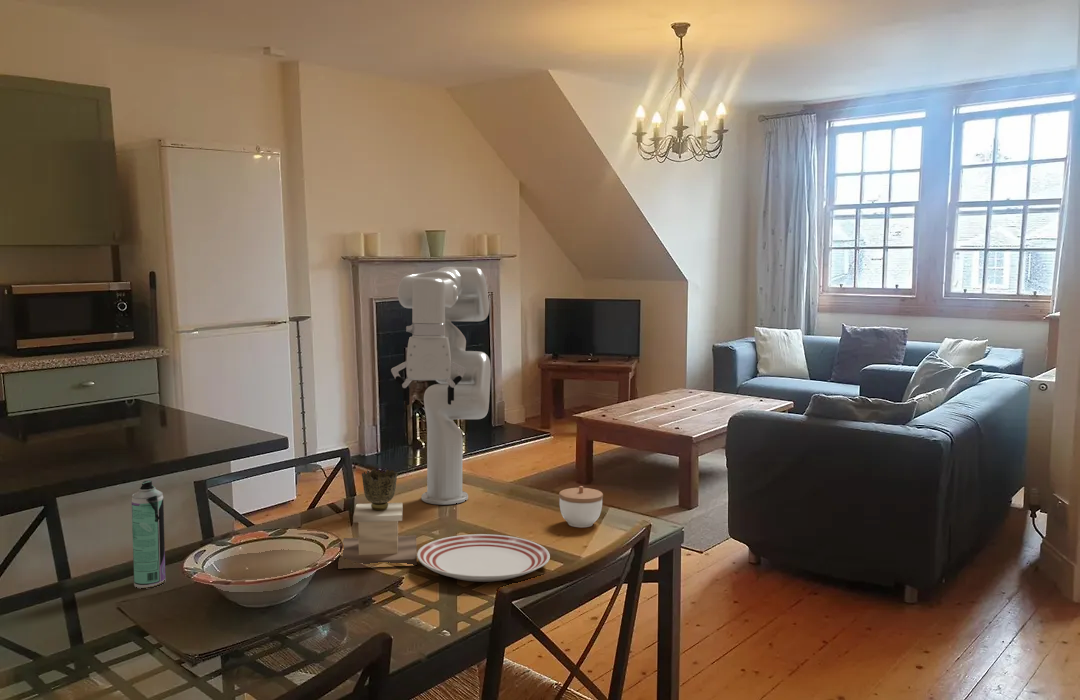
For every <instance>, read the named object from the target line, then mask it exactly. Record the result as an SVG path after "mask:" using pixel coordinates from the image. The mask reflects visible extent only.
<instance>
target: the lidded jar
mask: <svg viewBox="0 0 1080 700" xmlns="http://www.w3.org/2000/svg"><path fill="white" fill-rule="evenodd" d="M558 496H559V497H558V498H559V509H560V513H561V516H562V518H563V519H564V520H565V521H566V522H567V525H568V526H570V527H573V528H583V529H584V528H590V527H592V526H593V524H595V522H596V521H598V519H599V517H600V515H601V514H602V510H603V509H602V508H603V497H604V493H603V492H602V491H600V490H599V489H594V488H589V487H584V485H583V486H582V485H580V486H579V485H578V487H571V488H565V489H562V490H560V491H559V493H558Z"/></svg>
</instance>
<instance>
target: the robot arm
mask: <svg viewBox="0 0 1080 700" xmlns="http://www.w3.org/2000/svg"><path fill="white" fill-rule="evenodd" d="M487 283H488V282H487V279H486V275H485V274H484V272H483V271H482V269H481V268H479V267H476V266H444V267H440V268H438V269H437V270H431V271H426V272H421V273H420V272H419V273H413V274H408V275H405V276H403V277H402V278H401V280H400V281H399V284H398V286H397V299H398V302H399V304H400V305H401V306H402V307H403V308H404V309H405V308H406V309H412V320H411V321H412V324H411V325H407V326H406V327H405V329H406V330H405V331H406V332H407V333H410V334H412V336H410V337H409V339H408V341H407V342H408V343H407V350H406V352H407V353H406V360H405V361H404V362H402V363H399V364H398V365H396V366H394V367H392V368H391V369H390V372H391V374H392V376H393V377H394V379H395V381H396V383H397V384H398V385H400V386H401V387H402V390H403V392H402V393H403V396H402V397H403V400H402V401H403V402H405V403H406V406H409V405H410V384H411V382H413V381H435V382H436V384H435V383H434V384H432V385H430V386H428V387H427V388H426V389H425V391H424V395H423V405H424V410H425V418H426V433H427V434H426V435H427V436H426V440H427V442H426V447H427V448H426V449H427V450H426V451H427V452H426V455H427V458H426V461H427V463H426V465H427V466H426V467H427V469H426V473H427V475H426V476H427V477H426V480H427V481H426V483H427V484H426V485H427V486H426V487H427V489H426V490H427V491H426V492H423V493H422V494H421V501H423V502H424V503H427V504H431V505H438V506H443V505H444V506H447V505H455V504H456V503H457V504H460V503H464V502H466V501H468V499H469V494H468V493H467V492H466V491H463V447H464V445H463V443H464V442H463V440H464V438H463V434H462V433H463V432H462V431H461V429H460V428H459V426H458V425H457V424H456V422H455V421H454V420H481V419H484V418H485V417H486V416H487V414H488V412H489V409H490V408H489V407H490V395H491V393H490V392H491V375H492V371H491V370H492V368H491V360H490V357H489V356H488V354H486V353H485V352H484V351H477V350H475V351H474V350H466V346H467V340H466V337H465V335H464V334H463V333H462V331H461V330H460V329H459V328H458V327H457V326H456V325H454V323H452V322H482V321H485V320H486V319H487V318H488V316H489V313H490V299H489V293H488V284H487ZM405 368H406V378H405V379H403V377H401V375H400V374H399V372H400V371H402V370H404V369H405ZM465 500H466V501H465ZM457 504H456V505H457Z"/></svg>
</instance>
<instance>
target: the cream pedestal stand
mask: <svg viewBox="0 0 1080 700" xmlns="http://www.w3.org/2000/svg"><path fill="white" fill-rule="evenodd" d="M403 503H404V502H388V508H387V509H385V510H381V511H377V510H373V509H372V508H371V504H372V503H371V502H370V503H357V504H356V505H355V509H354V513H353V516H352V520H353V521H352V523H353V524H354V523H358V537H344V538H343V539H342V543H344V550H343V558H346V559H348V560H351V561H352V562H357V563H363V564H370V563H378V562H388V563H389V562H390V563H407V564H413V565H417V566H418V558H417V553H418V550H417V547H418V546H417V535H413V534H412V535H399V522H403V512H404V511H403V509H404V508H403V505H404V504H403Z"/></svg>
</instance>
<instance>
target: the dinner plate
mask: <svg viewBox="0 0 1080 700" xmlns="http://www.w3.org/2000/svg"><path fill="white" fill-rule="evenodd" d="M550 558H551V554H550V551H548V549H547V548H546V547H544V546H543V545H541V544H539V543H536V542H534V541H532V540H529V539H525V538H523V537H522V538H521V537H516V536H511V535H510V536H509V535H502V534H489V533H487V534H486V533H476V534H475V533H473V534H461V535H454V536H453V535H451V536H449V537H448V536H447V537H443V538H439V539H435V540H433V541H431V542H428V543H426V544H424V545H422V546H421V547H420V548H419V549H418V550H417V561H418V562H420V564H421V565H422V566H424V567H425V568H427V569H428V570H430V571H433V572H434V573H437V574H440V575H442V576H446V577H450V578H453V579H455V580H460V581H466V582H476V583H487V582H489V583H490V582H492V583H493V582H500V581H507V580H510V579H514V578H517V577H521V576H524V575H526V574H530V573H532V572H534V571H536V570H538V569H540V568H542V567H544V566H546V565H547V564H549V563H548V562H549V561H550Z"/></svg>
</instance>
